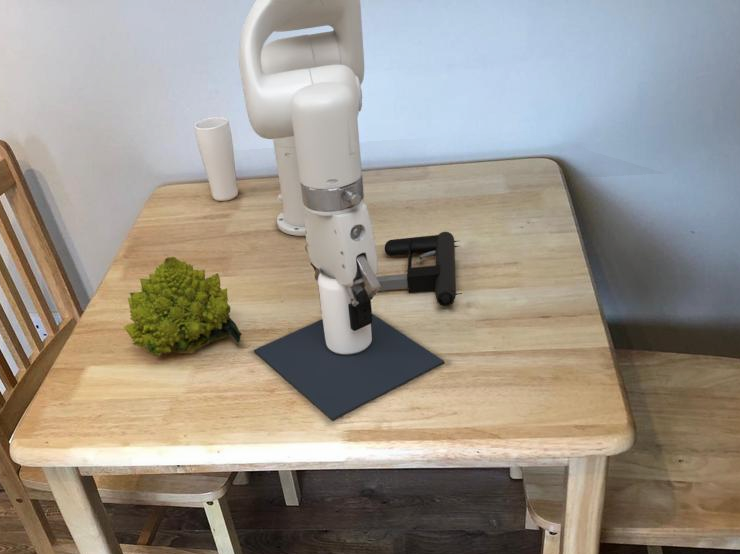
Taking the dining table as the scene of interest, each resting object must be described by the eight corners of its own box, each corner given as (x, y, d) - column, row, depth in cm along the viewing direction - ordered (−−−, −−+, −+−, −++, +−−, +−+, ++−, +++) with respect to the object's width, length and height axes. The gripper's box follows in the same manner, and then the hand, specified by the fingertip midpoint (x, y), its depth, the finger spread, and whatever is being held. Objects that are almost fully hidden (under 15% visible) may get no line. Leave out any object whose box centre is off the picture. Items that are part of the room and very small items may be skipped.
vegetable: (268, 316, 107) (190, 248, 100) (196, 400, 108) (112, 338, 100) (236, 290, 120) (165, 228, 112) (172, 365, 120) (96, 308, 112)
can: (324, 333, 109) (314, 259, 101) (368, 327, 109) (362, 252, 101) (328, 359, 104) (318, 282, 96) (375, 352, 104) (368, 275, 96)
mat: (254, 352, 108) (253, 349, 108) (357, 305, 115) (356, 303, 114) (332, 421, 94) (332, 418, 93) (444, 363, 101) (444, 360, 100)
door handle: (352, 298, 112) (463, 289, 108) (362, 236, 127) (460, 226, 124) (355, 318, 113) (464, 309, 110) (365, 254, 129) (461, 245, 126)
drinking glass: (240, 201, 151) (226, 126, 142) (207, 205, 151) (191, 130, 142) (243, 188, 156) (230, 115, 147) (211, 191, 157) (196, 118, 148)
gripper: (400, 202, 88) (407, 331, 99) (319, 164, 100) (333, 283, 111) (347, 223, 85) (360, 353, 96) (270, 181, 97) (290, 301, 108)
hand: (346, 314), depth 103 cm, fingers closed on can, 6 cm apart
